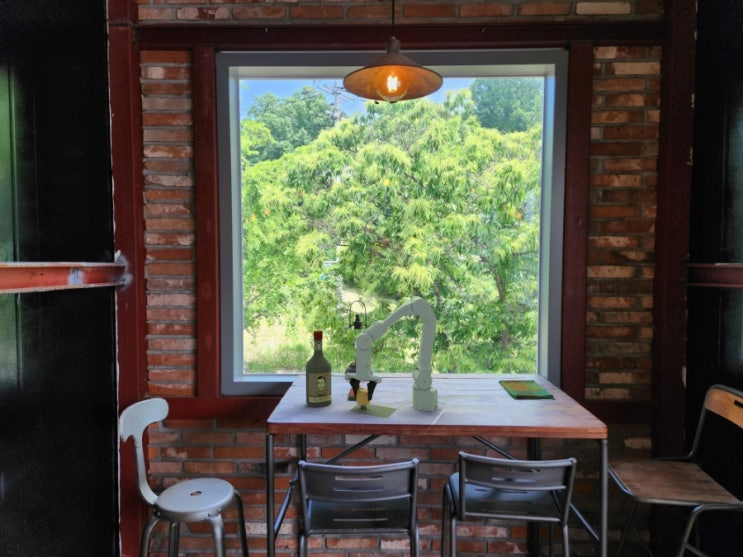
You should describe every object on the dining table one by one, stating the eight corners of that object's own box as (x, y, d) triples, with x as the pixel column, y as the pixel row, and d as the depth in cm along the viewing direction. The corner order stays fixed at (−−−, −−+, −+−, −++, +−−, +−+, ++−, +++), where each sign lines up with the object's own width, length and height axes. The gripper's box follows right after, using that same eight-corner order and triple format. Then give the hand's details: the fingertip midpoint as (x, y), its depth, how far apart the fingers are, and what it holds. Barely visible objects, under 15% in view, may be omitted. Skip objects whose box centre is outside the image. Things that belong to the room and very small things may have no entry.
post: (367, 407, 168) (367, 397, 168) (365, 409, 166) (365, 399, 165) (362, 406, 169) (362, 396, 169) (359, 408, 167) (359, 398, 166)
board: (397, 411, 167) (397, 408, 167) (387, 420, 158) (387, 417, 158) (360, 405, 174) (359, 402, 173) (348, 413, 164) (348, 411, 164)
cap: (372, 401, 168) (372, 390, 168) (366, 405, 164) (366, 394, 163) (360, 399, 170) (360, 388, 170) (354, 403, 166) (354, 392, 166)
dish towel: (513, 400, 180) (513, 394, 180) (497, 383, 204) (497, 378, 204) (555, 401, 180) (555, 395, 180) (534, 383, 204) (534, 378, 203)
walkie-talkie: (368, 405, 175) (371, 389, 195) (368, 394, 175) (371, 379, 195) (347, 404, 175) (351, 388, 195) (347, 394, 175) (351, 379, 195)
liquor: (305, 402, 176) (304, 330, 174) (326, 400, 179) (326, 328, 177) (310, 410, 168) (309, 334, 166) (332, 407, 171) (332, 332, 169)
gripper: (341, 364, 166) (342, 399, 166) (376, 369, 159) (376, 405, 160) (350, 360, 172) (350, 393, 173) (384, 364, 166) (383, 399, 167)
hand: (363, 398), depth 167 cm, fingers closed on cap, 5 cm apart
